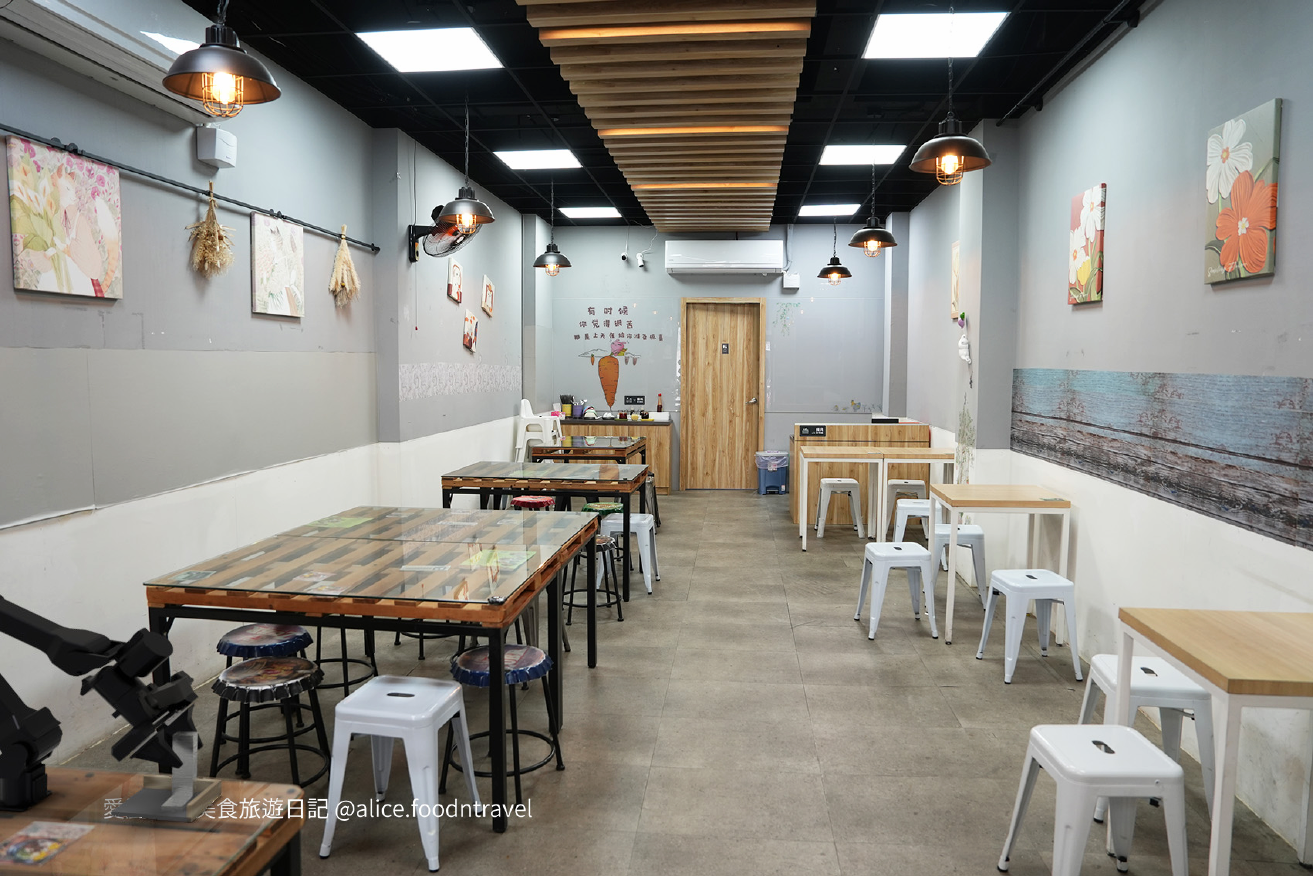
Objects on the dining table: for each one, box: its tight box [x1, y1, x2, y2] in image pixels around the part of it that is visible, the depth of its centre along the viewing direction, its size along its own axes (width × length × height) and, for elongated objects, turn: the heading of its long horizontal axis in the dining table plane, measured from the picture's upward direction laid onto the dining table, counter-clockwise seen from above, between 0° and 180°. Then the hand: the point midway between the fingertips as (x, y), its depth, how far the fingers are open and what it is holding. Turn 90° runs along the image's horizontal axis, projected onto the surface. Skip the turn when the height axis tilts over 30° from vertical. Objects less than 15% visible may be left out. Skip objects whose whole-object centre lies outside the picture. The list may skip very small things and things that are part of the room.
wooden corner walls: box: [142, 773, 223, 823], centre depth 145 cm, size 14×9×3 cm, turn 88°
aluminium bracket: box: [161, 731, 199, 812], centre depth 143 cm, size 4×5×12 cm
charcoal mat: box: [110, 787, 220, 823], centre depth 145 cm, size 14×9×1 cm, turn 88°
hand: (191, 757), depth 145 cm, fingers open, 7 cm apart
